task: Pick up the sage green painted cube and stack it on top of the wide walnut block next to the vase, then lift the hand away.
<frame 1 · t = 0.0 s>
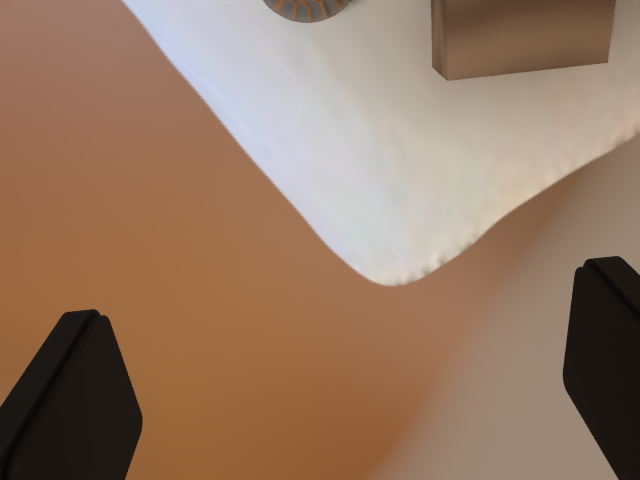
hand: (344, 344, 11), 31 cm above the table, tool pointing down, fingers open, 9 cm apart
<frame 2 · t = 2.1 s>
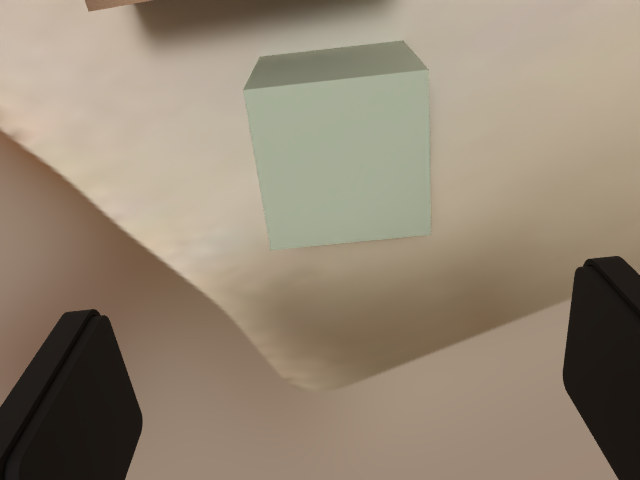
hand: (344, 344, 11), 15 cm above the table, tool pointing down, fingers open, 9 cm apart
green cube: (337, 118, 25), on the table
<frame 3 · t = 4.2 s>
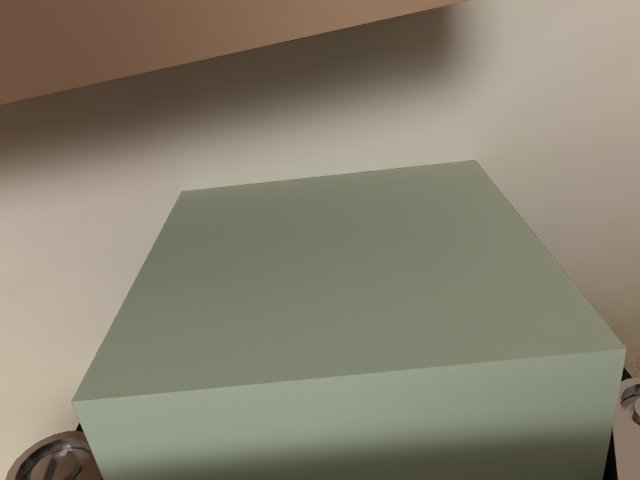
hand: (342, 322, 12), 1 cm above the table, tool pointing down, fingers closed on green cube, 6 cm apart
green cube: (340, 298, 13), on the table, touching gripper
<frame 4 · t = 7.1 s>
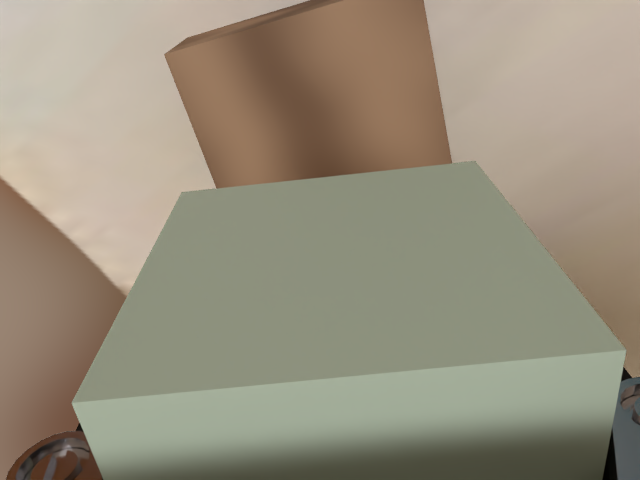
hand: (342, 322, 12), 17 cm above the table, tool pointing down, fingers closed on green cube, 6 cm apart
green cube: (340, 299, 13), point 16 cm above the table, touching gripper
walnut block: (321, 110, 28), on the table
when the fingers open (6 cm above the table, at t = 9.9 s): green cube stays where it is, point 5 cm above the table.
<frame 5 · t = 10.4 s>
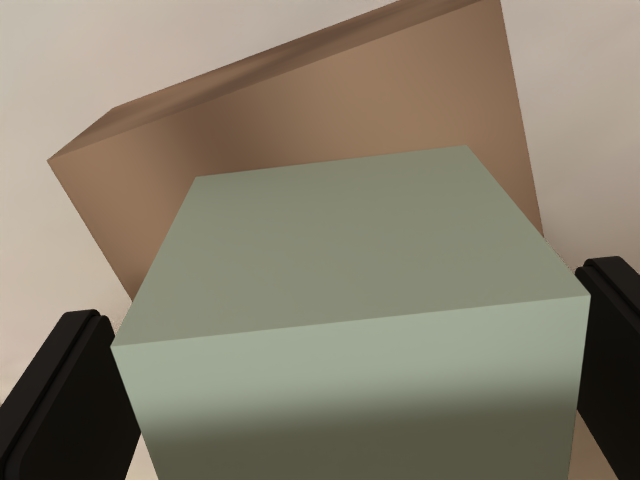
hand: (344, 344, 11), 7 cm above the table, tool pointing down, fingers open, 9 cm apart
green cube: (343, 277, 14), point 5 cm above the table
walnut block: (329, 198, 18), on the table
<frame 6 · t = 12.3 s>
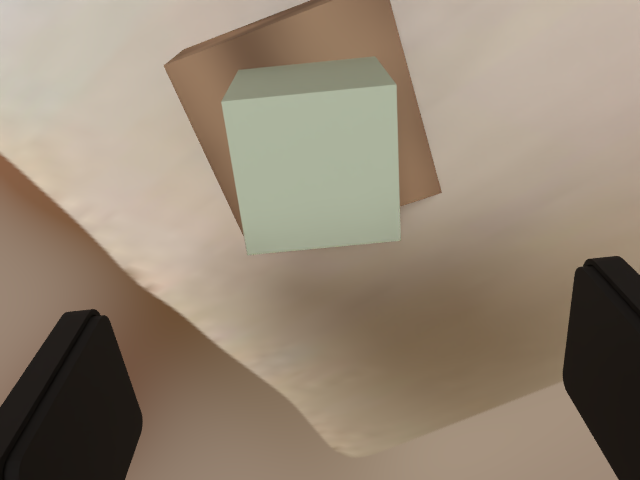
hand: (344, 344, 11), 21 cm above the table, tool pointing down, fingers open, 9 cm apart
green cube: (313, 130, 26), point 5 cm above the table, touching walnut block
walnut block: (309, 106, 30), on the table, touching green cube
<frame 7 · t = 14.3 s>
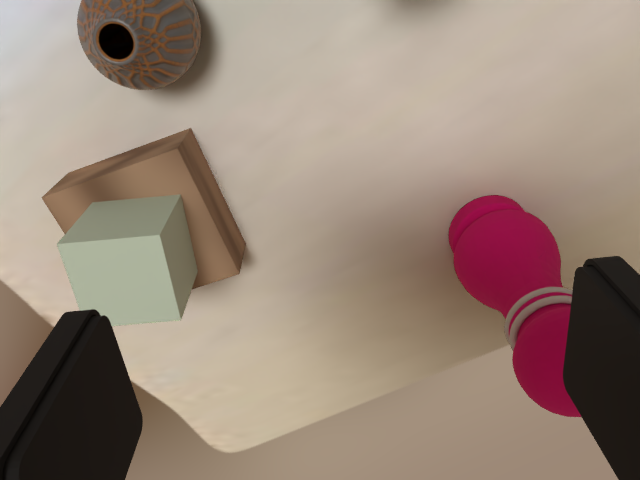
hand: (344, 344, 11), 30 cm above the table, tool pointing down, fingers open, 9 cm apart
pepper mill: (486, 229, 44), on the table
vase: (156, 22, 37), on the table
green cube: (146, 238, 39), point 5 cm above the table, touching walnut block
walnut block: (161, 207, 43), on the table, touching green cube
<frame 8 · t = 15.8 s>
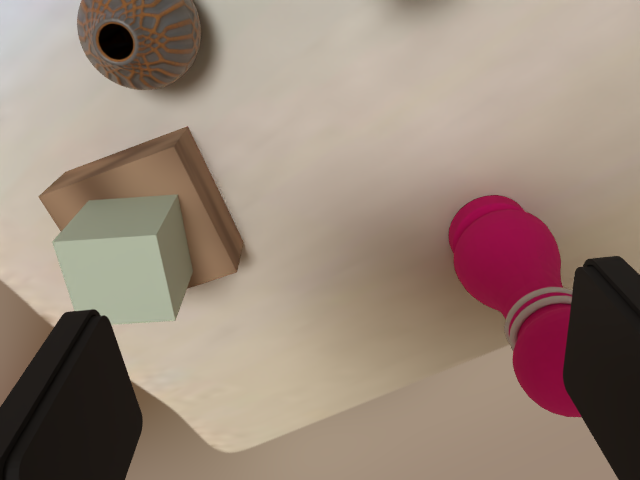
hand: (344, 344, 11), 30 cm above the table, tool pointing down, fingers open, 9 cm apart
pepper mill: (486, 229, 44), on the table
vase: (156, 22, 37), on the table
green cube: (142, 237, 39), point 5 cm above the table
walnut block: (158, 206, 43), on the table
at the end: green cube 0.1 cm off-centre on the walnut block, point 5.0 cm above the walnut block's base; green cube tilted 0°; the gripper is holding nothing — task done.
